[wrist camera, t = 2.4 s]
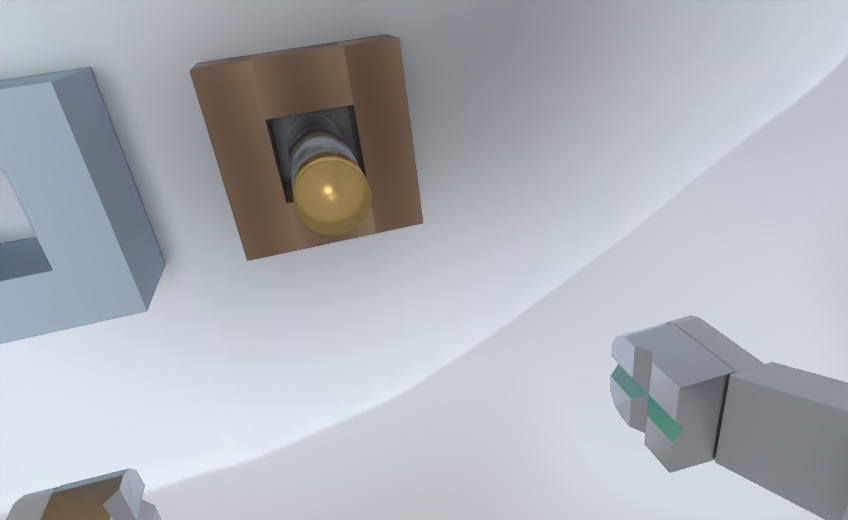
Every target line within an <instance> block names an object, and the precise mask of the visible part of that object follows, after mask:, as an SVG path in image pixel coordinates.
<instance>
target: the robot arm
mask: <svg viewBox="0 0 848 520" xmlns="http://www.w3.org/2000/svg"><path fill="white" fill-rule="evenodd" d="M612 357H613V358H614V359H615V360H616V362H617V363H618V366H617V367H616V369H615V370H614V372H613V373H612V375H611V394H612V398H613V401H614V404H615V407H616V408H617V410H618V412H619V414H620V415H621V417H622V418H623V419H624V420H625V422H626V423H627V424H628V425H629V426H630V427H632V428H635V429H637V430H639V431H642V432H644V433H645V445H646V446H647V447H648V449H649V450H650V451H651V452H652V453H653V454H654V455H655V456H656V458H657V459H658V460H659V461H660V462H661V463H662V465H663V466H664V467H665V468H666V469H667V470H668V471H669V472H670V473H671V472H674V471H678V470H681V469H684V468H687V467H691V466H695V465H698V464H702V463H705V462H708V461H712V460H715V462H716V463H717V464H719V465H721V466H723V467H725V468H727V469H729V470H731V471H733V472H735V473H737V474H739V475H741V476H743V477H744V478H746V479H748V480H750V481H752V482H754V483H756V484H758V485H760V486H762V487H764V488H765V489H768V490H769V491H771V492H773V493H775V494H777V495H779V496H781V497H783V498H785V499H787V500H789V501H790V502H792V503H794V504H796V505H798V506H800V507H802V508H804V509H806V510H808V511H810V512H812V513H813V514H816V515H817V516H819V517H821V518H823V519H825V520H848V383H847V382H843V381H840V380H836V379H832V378H829V377H825V376H822V375H818V374H814V373H810V372H807V371H803V370H800V369H796V368H792V367H789V366H785V365H781V364H778V363H774V362H771V363H768V364H764V363H762V362H761V361H759V360H758V359H757V358H755V357H754V356H752V355H751V354H750V353H748V352H747V351H745V350H744V349H743V348H741V347H740V346H738V345H737V344H736V343H734V342H733V341H731V340H730V339H729V338H727V337H726V336H724V335H723V334H722V333H720V332H719V331H718V330H716V329H715V328H713V327H712V326H710V325H709V324H708V323H706V322H705V321H703V320H702V319H701V318H699V317H696V316H692V315H690V316H687V317H683V318H680V319H676V320H673V321H670V322H667V323H665V324H661V325H658V326H654V327H650V328H647V329H643V330H640V331H636V332H632V333H629V334H625V335H622V336H618V337H616V338H615V340H614V342H613V344H612ZM144 487H145V485H144V483H143V481H142V479H141V478H140V476H139V474H138V472H137V470H133V469H125V470H121V471H117V472H113V473H109V474H105V475H101V476H97V477H93V478H89V479H85V480H81V481H77V482H73V483H69V484H65V485H61V486H60V487H56V488H51V489H47V490H43V491H39V492H35V493H31V494H27V495H24V496H23V497H21V498H20V499H19V500H17V501H16V502H15V503H14V505H13V506H12V508H11V510H10V512H9V514H8V516H7V518H6V520H161V517H160V515H159V513H158V511H157V509H156V507H155V505H153V504H151V503H149V502H146V501H144V500H142V495H143V491H144Z"/></svg>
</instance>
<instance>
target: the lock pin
mask: <svg viewBox="0 0 848 520" xmlns="http://www.w3.org/2000/svg"><path fill="white" fill-rule="evenodd" d="M287 148H288V156H289V164H290V172H291V180H292V189H293V197H294V204H295V209H296V212H297V214H298V216H299V217H300V219H301V220H302V222H303V223H304V224H305V225H306V226H308V227H309V228H310V229H312V230H314V231H316V232H318V233H321V234H326V235H339V234H343V233H347V232H349V231H351V230H353V229H355V228H356V227H357V226H359V225H360V224H361V223H362V222H363V220H364V219H365V218H366V216H367V214H368V212H369V210H370V207H371V201H372V195H371V189H370V186H369V183H368V181H367V179H366V178H365V176H364V174H363V172H362V170H361V168H360V167H359V165H358V163H357V161H356V159H355V157H354V156H353V154H352V152H351V150H350V148H349V146H348V144H347V143H346V141H345V139H344V137H343V135H342V133H341V132H340V130H339V128H338V126H337V125H336V123H335V122H334V121H333V120H331V119H330V118H329V117H327V116H325V115H322V114H318V113H309V114H305V115H302V116H300V117H299V118H297V119H296V120H295V121H294V122H293V123H292V124H291V126H290V128H289V130H288V133H287Z"/></svg>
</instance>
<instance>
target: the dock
mask: <svg viewBox="0 0 848 520" xmlns="http://www.w3.org/2000/svg"><path fill="white" fill-rule="evenodd" d="M0 170H4V172H5V174H6V176H7V178H8V180H9V182H10V184H11V186H12V188H13V190H14V192H15V194H16V196H17V198H18V200H19V202H20V204H21V206H22V208H23V210H24V212H25V214H26V216H27V218H28V220H29V222H30V224H31V226H32V228H33V230H34V232H35V235H36V237H34V238H29V239H24V240H19V241H14V242H8V243H3V244H0V344H2V343H7V342H11V341H16V340H20V339H25V338H29V337H34V336H38V335H43V334H47V333H51V332H56V331H60V330H65V329H69V328H74V327H78V326H83V325H87V324H92V323H96V322H101V321H105V320H110V319H114V318H119V317H123V316H128V315H132V314H137V313H141V312H146V311H147V310H148V308H149V305H150V302H151V300H152V297H153V295H154V292H155V290H156V287H157V285H158V282H159V280H160V277H161V275H162V272H163V269H164V267H165V261H164V258H163V256H162V253H161V251H160V248H159V245H158V243H157V240H156V238H155V235H154V232H153V230H152V227H151V224H150V222H149V219H148V217H147V214H146V211H145V209H144V206H143V204H142V201H141V198H140V196H139V193H138V190H137V188H136V185H135V183H134V180H133V177H132V175H131V172H130V170H129V167H128V164H127V162H126V159H125V156H124V154H123V151H122V149H121V146H120V143H119V141H118V138H117V136H116V133H115V130H114V128H113V125H112V122H111V120H110V117H109V115H108V112H107V109H106V107H105V104H104V102H103V99H102V96H101V94H100V91H99V89H98V86H97V83H96V81H95V78H94V75H93V73H92V70H91V68H90V67H88V68H82V69H75V70H68V71H61V72H55V73H48V74H41V75H34V76H28V77H21V78H14V79H7V80H1V81H0Z"/></svg>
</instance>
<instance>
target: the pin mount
mask: <svg viewBox="0 0 848 520" xmlns="http://www.w3.org/2000/svg"><path fill="white" fill-rule="evenodd" d="M190 74H191V77H192V80H193V84H194V87H195V90H196V93H197V97H198V100H199V103H200V107H201V110H202V113H203V117H204V120H205V123H206V126H207V130H208V133H209V136H210V140H211V143H212V146H213V149H214V153H215V156H216V159H217V163H218V166H219V169H220V173H221V176H222V179H223V182H224V186H225V189H226V192H227V196H228V199H229V202H230V205H231V209H232V212H233V215H234V219H235V222H236V225H237V228H238V232H239V235H240V238H241V242H242V245H243V248H244V252H245V255H246V258H247V261H249V260H254V259H259V258H263V257H268V256H273V255H277V254H282V253H287V252H291V251H296V250H301V249H305V248H310V247H315V246H319V245H324V244H329V243H333V242H338V241H343V240H347V239H352V238H357V237H361V236H366V235H371V234H375V233H380V232H384V231H389V230H394V229H398V228H403V227H408V226H412V225H417V224H422V223H423V217H422V209H421V202H420V194H419V187H418V179H417V171H416V164H415V156H414V149H413V141H412V134H411V126H410V118H409V111H408V103H407V96H406V88H405V80H404V73H403V65H402V58H401V50H400V43H399V38H396V37H393V36H390V35H380V36H373V37H367V38H360V39H354V40H347V41H340V42H334V43H327V44H321V45H314V46H307V47H301V48H294V49H288V50H281V51H275V52H268V53H261V54H255V55H248V56H242V57H235V58H228V59H222V60H215V61H209V62H202V63H197V64H196V65H195V66H194V67H193V68H192V69H190ZM343 106H348V110H349V116H350V121H351V127H352V132H353V138H354V143H355V149H356V154H357V160H358V165H359V167H360V168H361V170H362V172H363V174H364V176H365V178H366V179H367V181H368V183H369V186H370V189H371V195H372V201H371V207H370V210H369V212H368V214H367V216H366V218H365V219H364V220H363V222H362V223H361V224H360V225H359V226H357V227H356V228H355V229H353V230H351V231H349V232H347V233H343V234H339V235H326V234H321V233H318V232H316V231H314V230H312V229H310V228H309V227H308V226H306V225H305V224H304V223H303V222H302V220H301V219H300V217H299V216H298V214H297V212H296V209H295V204H294V197H293V189H292V184H287V185H285V183H284V179H283V175H282V171H281V167H280V163H279V159H278V155H277V151H276V147H275V143H274V139H273V135H272V131H271V127H270V123H269V119H274V118H279V117H285V116H291V115H297V114H303V113H308V112H314V111H320V110H326V109H332V108H338V107H343Z"/></svg>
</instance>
